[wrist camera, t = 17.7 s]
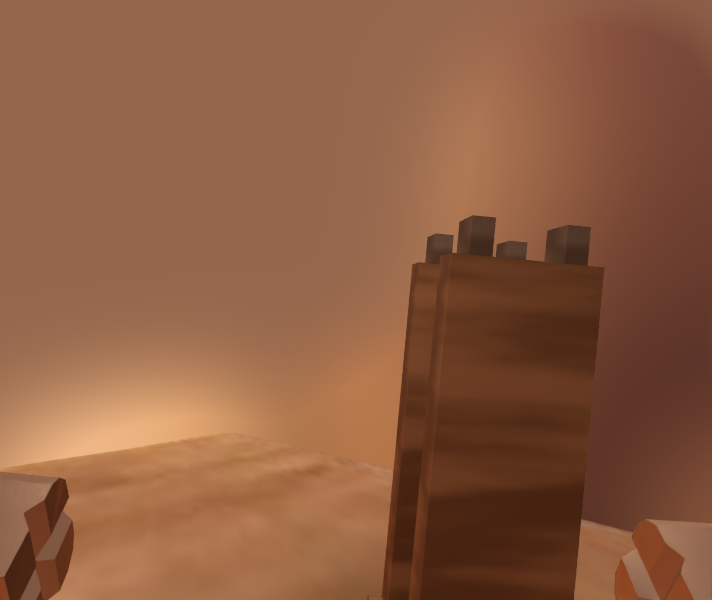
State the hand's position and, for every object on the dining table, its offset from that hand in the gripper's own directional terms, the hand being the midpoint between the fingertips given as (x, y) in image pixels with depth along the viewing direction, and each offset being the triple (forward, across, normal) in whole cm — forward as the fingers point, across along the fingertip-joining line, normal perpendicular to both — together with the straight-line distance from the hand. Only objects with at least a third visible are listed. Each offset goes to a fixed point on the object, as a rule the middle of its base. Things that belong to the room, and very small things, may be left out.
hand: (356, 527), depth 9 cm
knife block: (+17, +10, -32) cm, 37 cm away
